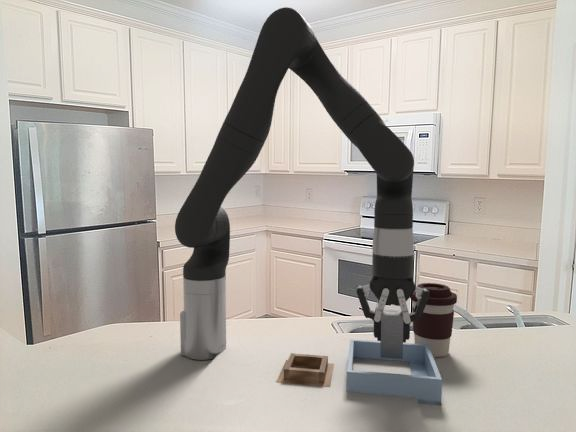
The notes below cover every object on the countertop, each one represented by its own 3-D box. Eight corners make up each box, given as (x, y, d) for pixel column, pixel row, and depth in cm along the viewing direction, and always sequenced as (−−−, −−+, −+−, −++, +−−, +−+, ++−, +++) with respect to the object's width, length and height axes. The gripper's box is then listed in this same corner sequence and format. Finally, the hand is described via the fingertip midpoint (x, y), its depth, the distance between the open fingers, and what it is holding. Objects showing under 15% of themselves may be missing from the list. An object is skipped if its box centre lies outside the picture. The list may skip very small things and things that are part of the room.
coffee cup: (400, 351, 94) (402, 286, 93) (420, 340, 101) (422, 279, 100) (444, 364, 87) (446, 294, 86) (462, 351, 94) (464, 286, 93)
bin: (346, 396, 74) (346, 371, 74) (349, 359, 90) (350, 339, 89) (441, 405, 71) (442, 379, 71) (427, 365, 87) (428, 344, 86)
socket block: (276, 387, 77) (276, 371, 77) (286, 364, 87) (286, 350, 87) (330, 392, 75) (330, 376, 75) (334, 368, 85) (334, 354, 85)
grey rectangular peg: (380, 357, 78) (381, 315, 78) (380, 349, 82) (380, 309, 82) (402, 358, 78) (403, 316, 77) (400, 350, 81) (401, 310, 81)
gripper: (354, 253, 76) (353, 345, 77) (435, 255, 74) (433, 350, 75) (355, 247, 84) (354, 331, 85) (429, 249, 81) (427, 335, 82)
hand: (391, 339), depth 80 cm, fingers closed on grey rectangular peg, 4 cm apart
